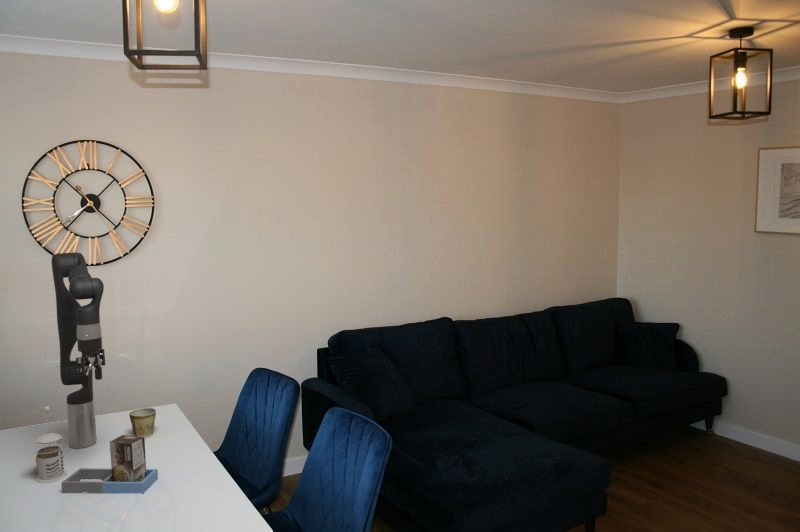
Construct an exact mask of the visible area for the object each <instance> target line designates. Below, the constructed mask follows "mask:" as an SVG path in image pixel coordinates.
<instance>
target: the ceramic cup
mask: <svg viewBox="0 0 800 532" xmlns="http://www.w3.org/2000/svg"><path fill="white" fill-rule="evenodd" d="M156 413H157V410H156V408H153V407H143V408H136V409H133V410H131V411H130V412H129V415H128V416H129V420H130V423H131V427H132V431H133V436H138V437H145V438H144V439H148V438H150V436H151V435H152V436H153V435H154V429H155V422H156V421H155V420H156V416H157V415H156ZM152 436H151V437H152ZM147 437H148V438H147Z"/></svg>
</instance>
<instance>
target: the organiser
mask: <svg viewBox="0 0 800 532" xmlns="http://www.w3.org/2000/svg"><path fill="white" fill-rule="evenodd" d="M146 475H147V477H146V478H145V479H144V480H143V481H142V482H112V468H89V467H87V468H86V467H85V468H84V467H83V468H82V467H81V468H79V469H77V470H76V471H75V472H73V473H72V474H70V476H68V477H67V478H64V479H63V481H61V482H60V483H61V493H62V494H83V493H82V492H87V493H86V494H117V493H142V494H141V495H143V493H144V492H145V491H146V490H147V489H148V488H149V487H150V486H151V485H152V484H153V483H154V482H155V481H156V482H157V481H158V480H159V472H158V468H146ZM81 479H104V480H101V481H96V480H94V481H93V480H90V481H89V480H86V481H85V480H81ZM157 479H158V480H157ZM80 480H81V481H80ZM156 482H155V483H156ZM155 483H154V484H155ZM152 486H153V485H152ZM152 486H151V487H152ZM151 487H150V488H151ZM150 488H149V489H150ZM149 489H148V490H149ZM148 490H147V491H148ZM147 491H146V492H147ZM146 492H145V493H146ZM145 493H144V494H145Z"/></svg>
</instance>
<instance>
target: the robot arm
mask: <svg viewBox="0 0 800 532" xmlns="http://www.w3.org/2000/svg"><path fill="white" fill-rule="evenodd" d="M51 270H52V277H53V284H54V292H55V303H56V322H57V331H58V332H57V334H58V340H59V341H58V342H59V359H60V360H59V373H60V374H59V375H60V381H61V384H62V385H64V386H77V385H78V386H79V385H81V388H80V389H78V390H76V391H73V392H71V393H69V394H67V396H66V410H67V412H66V414H67V426H68V427H67V428H68V441H69V443H68V446H69V447H70V448H71V449H83V448H88V447H92V446H93V445H95V444H96V442H97V441H96V440H97V428H96V427H97V426H96V416H95V407H94V406H95V405H94V387H93V384H94V383H93V379H95V380H96V381H97V380H99V381H100V380H102V379H103V368H104V366H105V365H106V355H105V349H104V348H103V341H102V340H103V339H102V326H101V316H100V309H101V308H100V307H101V302H102V301H101V300H102V298H103V294H104V289H105V287H104V282H103V281H102V279H101V278H99V277H92V275H91V274H90V273H89V270H88V265H87V261H86V259H85V256H84V255H83V254H82V253H81V252H76V251H75V252H58V253H55V254H53V255H52V257H51ZM64 278H65V279H66V278H67V280H68V283H69V284H68V285H69V286H68V288H67V286H66V284H65V282H64ZM79 300H91V301H90V302H89V303H88V304H86V305H81V304H80V302H78V301H79ZM76 343H77V351H78V352H80V353H81V356H79V357H76V358H75V360H71V357H72V352H73V349H74V347H75V345H76ZM93 368H94V372H93ZM93 373H94V376H93ZM93 377H94V378H93Z"/></svg>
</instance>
